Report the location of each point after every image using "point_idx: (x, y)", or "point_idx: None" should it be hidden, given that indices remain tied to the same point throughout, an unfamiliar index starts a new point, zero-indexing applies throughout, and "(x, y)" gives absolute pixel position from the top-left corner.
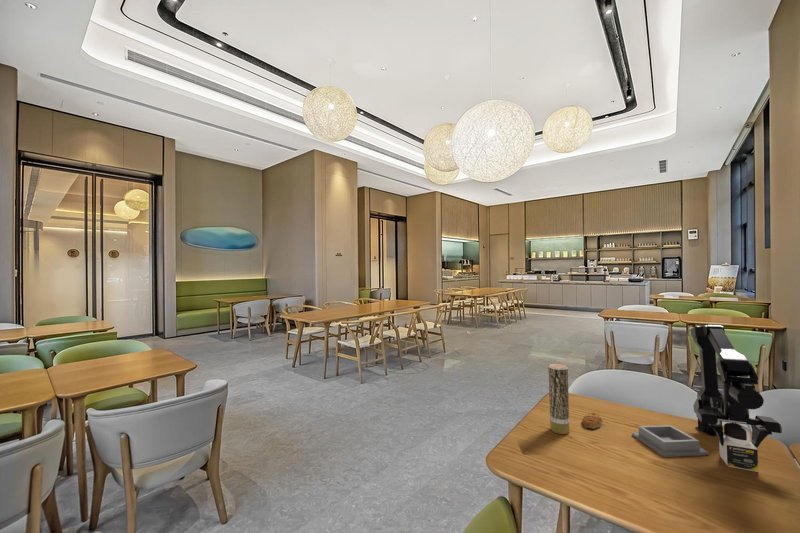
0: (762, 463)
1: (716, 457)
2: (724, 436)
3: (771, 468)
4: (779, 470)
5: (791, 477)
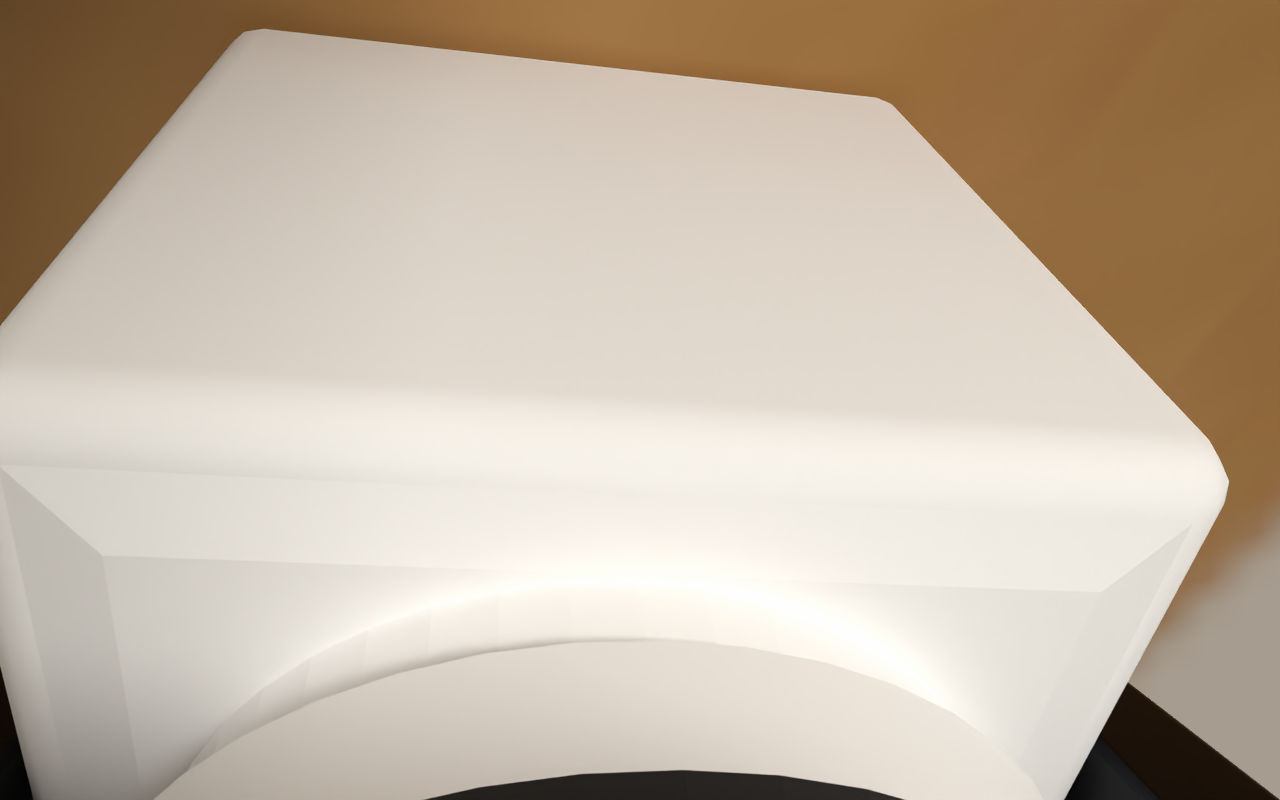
0: (1147, 129)
1: (129, 156)
2: (151, 700)
3: (1153, 325)
4: (1248, 361)
5: (1228, 553)
